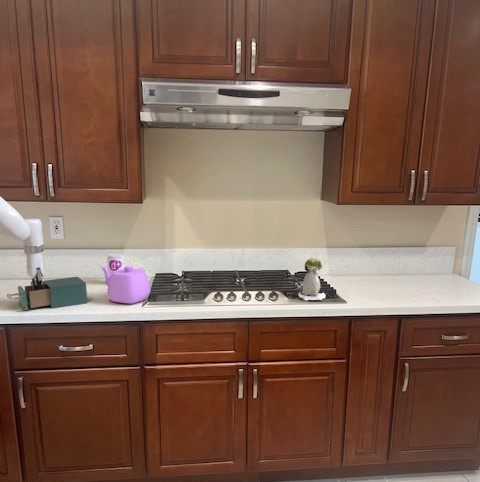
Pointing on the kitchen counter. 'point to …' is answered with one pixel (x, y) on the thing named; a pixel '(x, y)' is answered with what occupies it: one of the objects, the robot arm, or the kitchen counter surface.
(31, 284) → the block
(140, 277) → the teapot
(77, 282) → the cabinet
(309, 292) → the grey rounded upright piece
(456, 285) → the kitchen counter surface
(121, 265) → the supplement can
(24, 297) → the drawer
